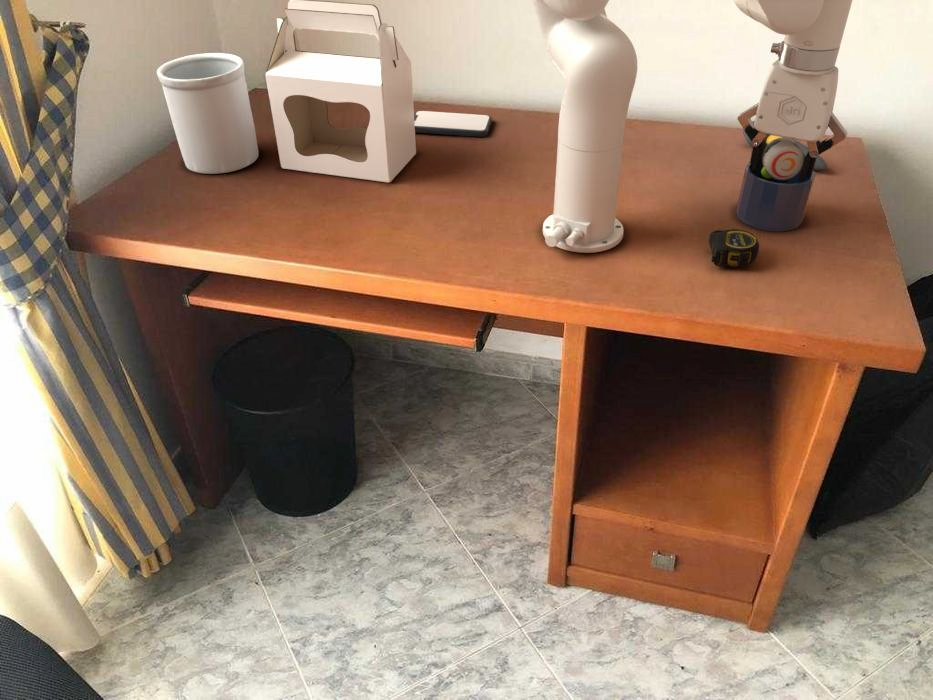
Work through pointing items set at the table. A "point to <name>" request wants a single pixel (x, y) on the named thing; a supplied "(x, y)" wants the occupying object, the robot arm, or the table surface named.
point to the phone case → (452, 123)
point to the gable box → (340, 95)
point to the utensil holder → (210, 111)
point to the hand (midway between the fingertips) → (779, 172)
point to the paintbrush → (819, 161)
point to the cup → (773, 200)
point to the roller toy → (782, 159)
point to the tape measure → (733, 247)
